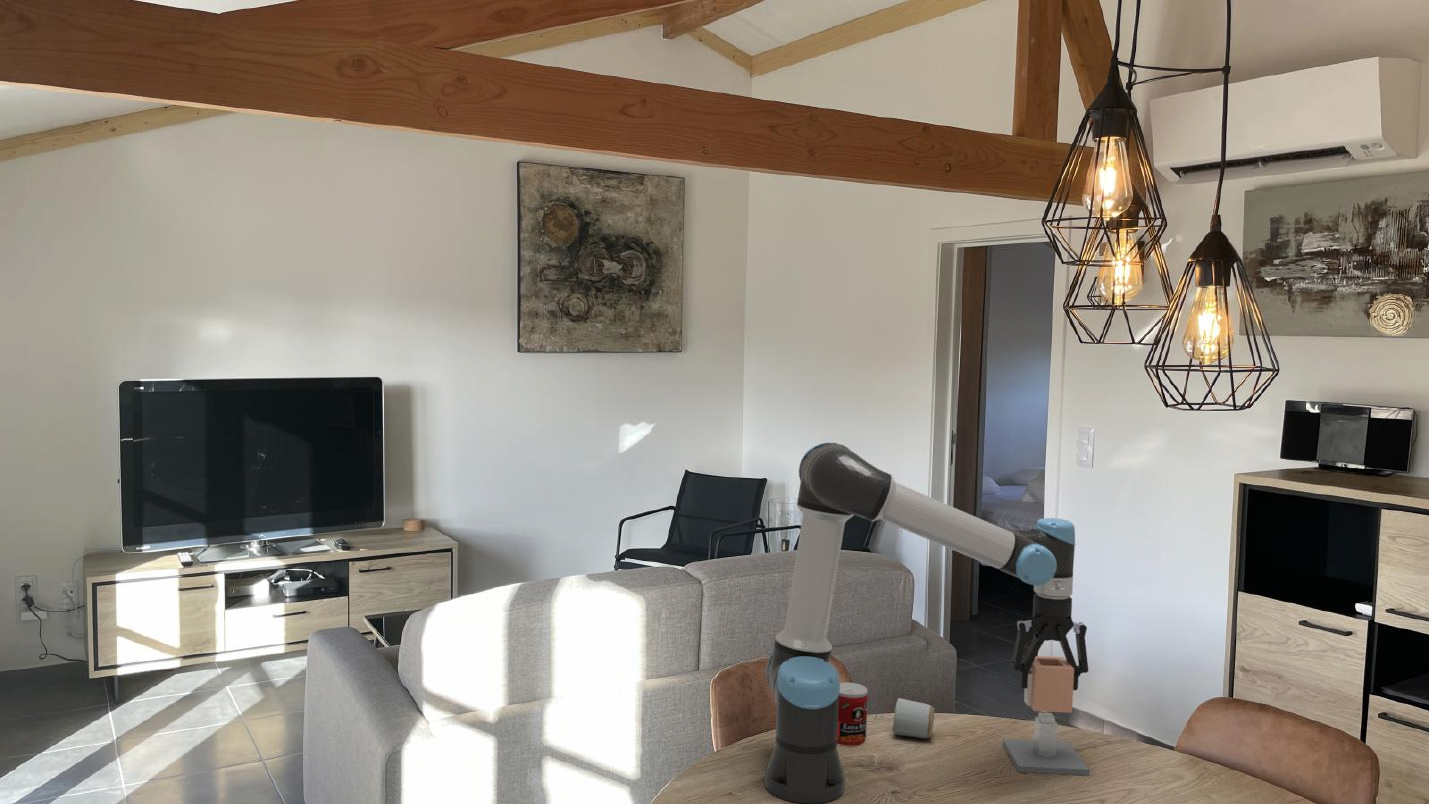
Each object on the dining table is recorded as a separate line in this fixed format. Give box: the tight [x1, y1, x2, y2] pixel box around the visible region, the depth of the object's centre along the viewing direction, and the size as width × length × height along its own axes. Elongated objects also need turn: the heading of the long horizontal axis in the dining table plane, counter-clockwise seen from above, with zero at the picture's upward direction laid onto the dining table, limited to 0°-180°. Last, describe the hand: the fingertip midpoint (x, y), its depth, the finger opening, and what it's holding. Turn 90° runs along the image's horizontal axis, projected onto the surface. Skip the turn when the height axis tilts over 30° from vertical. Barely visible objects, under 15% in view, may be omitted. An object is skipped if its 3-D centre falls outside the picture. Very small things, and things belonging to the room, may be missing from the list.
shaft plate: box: [1002, 738, 1091, 777], centre depth 213 cm, size 14×14×1 cm
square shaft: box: [1033, 711, 1059, 758], centre depth 213 cm, size 4×4×8 cm
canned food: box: [837, 681, 869, 746], centre depth 221 cm, size 8×8×11 cm
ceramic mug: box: [892, 697, 935, 739], centre depth 225 cm, size 11×8×8 cm
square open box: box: [1029, 655, 1074, 713], centre depth 212 cm, size 8×8×9 cm
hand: (1047, 704), depth 212 cm, fingers closed on square open box, 8 cm apart
